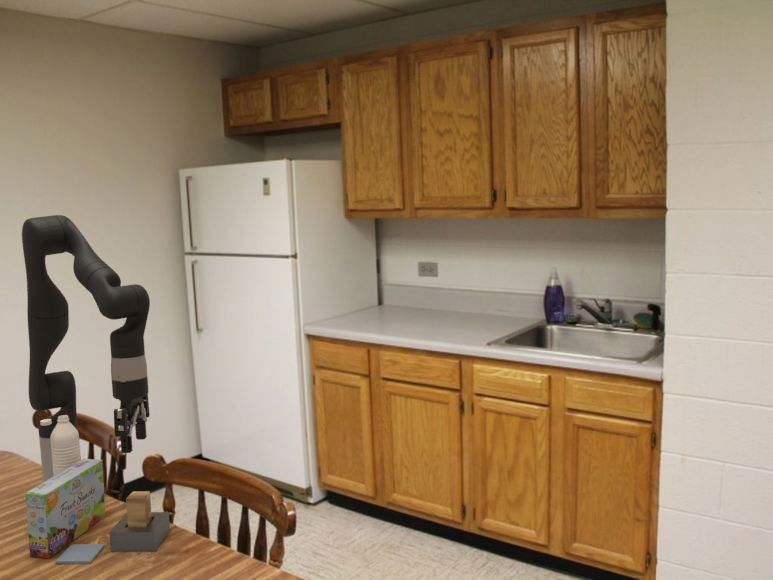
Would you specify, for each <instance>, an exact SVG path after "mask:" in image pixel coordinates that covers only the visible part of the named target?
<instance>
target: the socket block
mask: <svg viewBox="0 0 773 580" xmlns="http://www.w3.org/2000/svg"><path fill="white" fill-rule="evenodd" d="M151 514H152V522H151V523H150V524H149V526H148V527H128V520H127V512H126V513H125V514H124V515H123V516H122V517H121V519H120V520H119V521H118V522H117V523H116V524H115V525H114V526H113V528H112V529H110V531H109V543H110V545H109V546H110V552H111V553H113V552H115V553H116V552H119V553H120V552H121V553H122V552H124V553H125V552H132V553H133V552H156V551H157V550H158V548H159V547H160V546H161V544H162V543H163V541H164V540H165V538H166V537H167V535H168V534H169V533H170V531H171V525H170V512H168V511H166V512H165V511H153V512H152V511H151ZM163 539H164V540H163Z"/></svg>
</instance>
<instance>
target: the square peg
mask: <svg viewBox="0 0 773 580" xmlns="http://www.w3.org/2000/svg"><path fill="white" fill-rule="evenodd" d="M151 501H152V500H151V491H149V490H145V491H144V490H143V491H141V490H140V491H139V490H138V491H134V490H133V491H132V492H131V493H130V494H129V495H127V496H126V498H125V503H126V504H125V505H126V513H127V520H128V527H148V526H149V524H150V523H151V522H152V514H151V512H152V502H151Z"/></svg>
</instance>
